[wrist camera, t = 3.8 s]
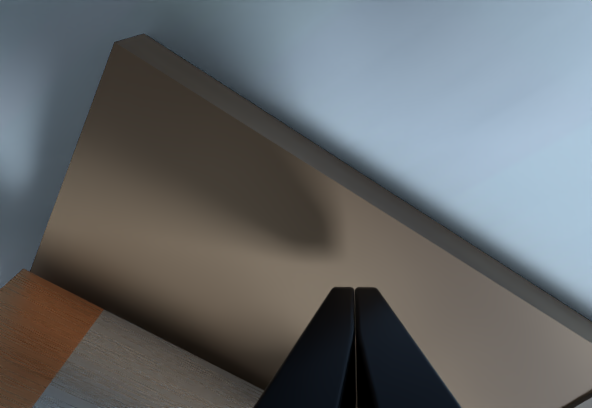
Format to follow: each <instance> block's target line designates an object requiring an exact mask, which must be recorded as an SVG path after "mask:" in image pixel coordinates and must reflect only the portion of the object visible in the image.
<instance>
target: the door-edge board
mask: <svg viewBox="0 0 592 408" xmlns="http://www.w3.org/2000/svg"><path fill="white" fill-rule="evenodd" d="M30 272H31V273H33V274H35V275H37V276H39V277H41V278H43V279H45V280H47V281H49V282H51V283H53V284H55V285H57V286H59V287H61V288H63V289H65V290H67V291H69V292H71V293H73V294H75V295H77V296H79V297H80V298H82V299H84V300H86V301H88V302H90V303H92V304H94V305H96V306H98V307H100V308H102V309H104V310H106V311H108V312H110V313H112V314H114V315H116V316H118V317H120V318H122V319H124V320H126V321H128V322H130V323H132V324H134V325H136V326H138V327H140V328H142V329H144V330H146V331H148V332H150V333H152V334H154V335H156V336H158V337H160V338H161V339H163V340H165V341H167V342H169V343H171V344H173V345H175V346H177V347H179V348H181V349H183V350H185V351H187V352H189V353H191V354H193V355H195V356H197V357H199V358H201V359H203V360H205V361H207V362H209V363H211V364H213V365H215V366H217V367H219V368H221V369H223V370H225V371H227V372H229V373H231V374H233V375H235V376H237V377H239V378H240V379H242V380H244V381H246V382H248V383H250V384H252V385H254V386H256V387H258V388H260V389H262V390H265V389H266V387H267V386H268V384H269V383H270V381H271V380H272V378H273V376H274V375H275V373H276V372H277V370H278V369H279V367H280V366H281V364H282V363H283V361H284V360H285V358H286V357H287V355H288V354H289V352H290V351H291V349H292V348H293V346H294V345H295V343H296V342H297V340H298V339H299V337H300V336H301V334H302V333H303V331H304V330H305V328H306V327H307V325H308V324H309V322H310V321H311V319H312V318H313V316H314V315H315V313H316V312H317V310H318V309H319V307H320V305H321V304H322V302H323V301H324V299H325V298H326V296H327V295H328V293H329V292H330V290H331V289H332V288H333V287H352V288H354V291H355V289H356V288H357V287H376V288H377V289H378V290H379V291H380V293H381V294H382V296H383V297H384V298H385V300H386V301H387V303H388V304H389V305H390V307H391V308H392V310H393V311H394V313H395V314H396V315H397V317H398V318H399V320H400V321H401V322H402V324H403V325H404V327H405V328H406V330H407V331H408V332H409V334H410V335H411V337H412V338H413V339H414V341H415V342H416V344H417V345H418V346H419V348H420V349H421V351H422V352H423V354H424V355H425V356H426V358H427V359H428V361H429V362H430V363H431V365H432V366H433V368H434V369H435V371H436V372H437V373H438V375H439V376H440V378H441V379H442V380H443V382H444V383H445V385H446V386H447V388H448V389H449V390H450V392H451V393H452V395H453V396H454V397H455V399H456V400H457V402H458V403H459V404H460V406H461V407H462V408H592V322H591V321H590V320H588V319H587V318H585V317H583V316H582V315H580V314H579V313H577V312H576V311H574V310H573V309H571V308H569V307H568V306H566V305H565V304H563V303H562V302H560V301H559V300H557V299H555V298H554V297H552V296H551V295H549V294H548V293H546V292H545V291H543V290H541V289H540V288H538V287H537V286H535V285H534V284H532V283H531V282H529V281H528V280H526V279H524V278H523V277H521V276H520V275H518V274H517V273H515V272H514V271H512V270H510V269H509V268H507V267H506V266H504V265H503V264H501V263H500V262H498V261H496V260H495V259H493V258H492V257H490V256H489V255H487V254H486V253H484V252H482V251H481V250H479V249H478V248H476V247H475V246H473V245H472V244H470V243H468V242H467V241H465V240H464V239H462V238H461V237H459V236H458V235H456V234H455V233H453V232H451V231H450V230H448V229H447V228H445V227H444V226H442V225H441V224H439V223H437V222H436V221H434V220H433V219H431V218H430V217H428V216H427V215H425V214H423V213H422V212H420V211H419V210H417V209H416V208H414V207H413V206H411V205H409V204H408V203H406V202H405V201H403V200H402V199H400V198H399V197H397V196H395V195H394V194H392V193H391V192H389V191H388V190H386V189H385V188H383V187H381V186H380V185H378V184H377V183H375V182H374V181H372V180H371V179H369V178H368V177H366V176H364V175H363V174H361V173H360V172H358V171H357V170H355V169H354V168H352V167H350V166H349V165H347V164H346V163H344V162H343V161H341V160H340V159H338V158H336V157H335V156H333V155H332V154H330V153H329V152H327V151H326V150H324V149H322V148H321V147H319V146H318V145H316V144H315V143H313V142H312V141H310V140H308V139H307V138H305V137H304V136H302V135H301V134H299V133H298V132H296V131H295V130H293V129H291V128H290V127H288V126H287V125H285V124H284V123H282V122H281V121H279V120H277V119H276V118H274V117H273V116H271V115H270V114H268V113H267V112H265V111H263V110H262V109H260V108H259V107H257V106H256V105H254V104H253V103H251V102H249V101H248V100H246V99H245V98H243V97H242V96H240V95H239V94H237V93H235V92H234V91H232V90H231V89H229V88H228V87H226V86H225V85H223V84H222V83H220V82H218V81H217V80H215V79H214V78H212V77H211V76H209V75H208V74H206V73H204V72H203V71H201V70H200V69H198V68H197V67H195V66H194V65H192V64H190V63H189V62H187V61H186V60H184V59H183V58H181V57H180V56H178V55H176V54H175V53H173V52H172V51H170V50H169V49H167V48H166V47H164V46H162V45H161V44H159V43H158V42H156V41H155V40H153V39H152V38H150V37H149V36H147V35H145V34H141V35H137V36H134V37H130V38H127V39H123V40H120V41H116V42H114V45H113V47H112V50H111V53H110V56H109V58H108V61H107V64H106V66H105V69H104V72H103V75H102V77H101V80H100V83H99V85H98V88H97V91H96V94H95V96H94V99H93V102H92V104H91V107H90V110H89V113H88V115H87V118H86V121H85V123H84V126H83V129H82V132H81V134H80V137H79V140H78V142H77V145H76V148H75V151H74V153H73V156H72V159H71V161H70V164H69V167H68V170H67V172H66V175H65V178H64V180H63V183H62V186H61V189H60V191H59V194H58V197H57V199H56V202H55V205H54V208H53V210H52V213H51V216H50V219H49V221H48V224H47V227H46V229H45V232H44V235H43V238H42V240H41V243H40V246H39V248H38V251H37V254H36V257H35V259H34V262H33V265H32V267H31V270H30ZM355 341H356V335H355ZM356 408H357V387H356Z"/></svg>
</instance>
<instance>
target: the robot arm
mask: <svg viewBox="0 0 592 408" xmlns="http://www.w3.org/2000/svg"><path fill="white" fill-rule="evenodd" d="M355 335H356V341H355ZM356 387H357V408H462V407H461V406H460V404H459V403H458V402H457V400H456V399H455V397H454V396H453V395H452V393H451V392H450V390H449V389H448V388H447V386H446V385H445V383H444V382H443V380H442V379H441V378H440V376H439V375H438V373H437V372H436V371H435V369H434V368H433V366H432V365H431V363H430V362H429V361H428V359H427V358H426V356H425V355H424V354H423V352H422V351H421V349H420V348H419V346H418V345H417V344H416V342H415V341H414V339H413V338H412V337H411V335H410V334H409V332H408V331H407V330H406V328H405V327H404V325H403V324H402V322H401V321H400V320H399V318H398V317H397V315H396V314H395V313H394V311H393V310H392V308H391V307H390V305H389V304H388V303H387V301H386V300H385V298H384V297H383V296H382V294H381V293H380V291H379V290H378V289H377V288H376V287H357V288H356V289H355V291H354V288H352V287H333V288H332V289H331V290H330V292H329V293H328V295H327V296H326V298H325V299H324V301H323V302H322V304H321V305H320V307H319V309H318V310H317V312H316V313H315V315H314V316H313V318H312V319H311V321H310V322H309V324H308V325H307V327H306V328H305V330H304V331H303V333H302V334H301V336H300V337H299V339H298V340H297V342H296V343H295V345H294V346H293V348H292V349H291V351H290V352H289V354H288V355H287V357H286V358H285V360H284V361H283V363H282V364H281V366H280V367H279V369H278V370H277V372H276V373H275V375H274V376H273V378H272V380H271V381H270V383H269V384H268V386H267V387H266V389H265V390H264V392H263V393H262V395H261V396H260V398H259V399H258V401H257V402H256V404H255V405H254V407H253V408H356Z"/></svg>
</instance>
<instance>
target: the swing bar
mask: <svg viewBox="0 0 592 408" xmlns="http://www.w3.org/2000/svg"><path fill="white" fill-rule="evenodd" d="M263 392H264V390H262V389H260V388H258V387H256V386H254V385H252V384H250V383H248V382H246V381H244V380H242V379H240V378H239V377H237V376H235V375H233V374H231V373H229V372H227V371H225V370H223V369H221V368H219V367H217V366H215V365H213V364H211V363H209V362H207V361H205V360H203V359H201V358H199V357H197V356H195V355H193V354H191V353H189V352H187V351H185V350H183V349H181V348H179V347H177V346H175V345H173V344H171V343H169V342H167V341H165V340H163V339H161V338H160V337H158V336H156V335H154V334H152V333H150V332H148V331H146V330H144V329H142V328H140V327H138V326H136V325H134V324H132V323H130V322H128V321H126V320H124V319H122V318H120V317H118V316H116V315H114V314H112V313H110V312H108V311H106V310H104V309H102V308H100V307H98V306H96V305H94V304H92V303H90V302H88V301H86V300H84V299H82V298H80V297H79V296H77V295H75V294H73V293H71V292H69V291H67V290H65V289H63V288H61V287H59V286H57V285H55V284H53V283H51V282H49V281H47V280H45V279H43V278H41V277H39V276H37V275H35V274H33V273H31V272H29V271H27V270H25V269H22V270H21V271H20V272H19V273H18V274H17V275H16V276H15V277H14V278H12V279H11V280H10V281H9V282H8V283H7V284H6V285H5V286H4V287H2V288H1V289H0V408H253V407H254V405H255V404H256V402H257V401H258V399H259V398H260V396H261V395H262V393H263Z"/></svg>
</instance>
